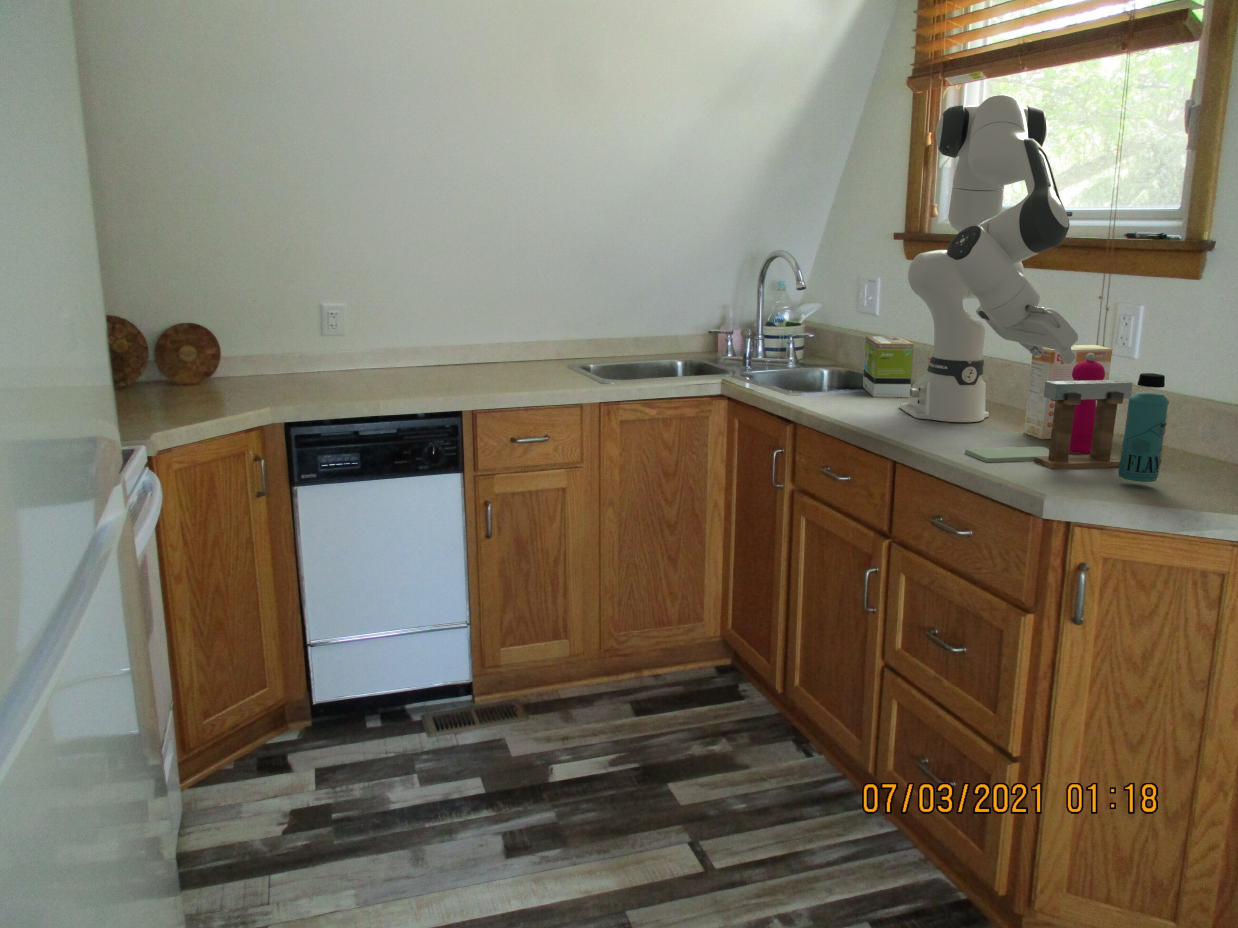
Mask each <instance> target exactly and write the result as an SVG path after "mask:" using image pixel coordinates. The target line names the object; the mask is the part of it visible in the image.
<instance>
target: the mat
mask: <svg viewBox="0 0 1238 928" xmlns="http://www.w3.org/2000/svg"><path fill="white" fill-rule="evenodd" d="M1049 449H1050V448H1046V447H1044V446H1022V447H1020V446H1019V447H1018V446H1015V447H991V448H990V447H987V448H965V449H964V454H966V455H969V456H971V457H972V458H976V459H978V460H981V461H983V462H985V463H1005V462H1006V463H1007V462H1008V463H1009V462H1030V461H1031V462H1034V458H1035V457H1047V456H1049Z"/></svg>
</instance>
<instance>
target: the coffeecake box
mask: <svg viewBox="0 0 1238 928" xmlns="http://www.w3.org/2000/svg"><path fill="white" fill-rule="evenodd" d="M1042 348H1043V349H1044V352H1043V353H1042V354H1041V355H1040V356H1033V355H1032V354H1031V364H1030V372H1029V373H1030V374H1029V382H1028V383H1029V385H1028V393H1027V398H1026V399H1027V401H1026V409H1025V410H1026V411H1025V418H1024V426H1023V427H1024V428H1023V434H1025V435H1027V434H1028V435H1027V436H1030V435H1031V437H1035V438H1037V439H1040V440H1051V432H1052V424H1053V416H1054V408H1055V401H1052V400H1051V399H1049V398H1045V397H1044V389H1045V381H1075V380H1074V379H1073V377H1072V371H1073V368H1074V366H1075V365H1076V364H1077V363H1079V362H1081V361H1087V360H1086V355H1087V354H1088V353H1093V354H1094V355H1095V360H1094V361H1096V362H1098V363H1100V364H1101V365H1102V366H1103V367H1104V370H1105V377H1104V379H1103V380H1110V378H1109V377H1110V370H1111V363H1112V356H1113V355H1112V354H1113V348H1111V347H1105V346H1102V345H1098V344H1081V345H1079V344H1078V345H1077V344H1074V345H1073V346H1072V347H1071V351H1072V352H1073V354H1074V355H1075V359H1074V360H1073V361H1072V362H1071V363H1065V362H1063V361H1062V359H1061V358H1060V357H1059V356H1060V352H1058V351H1056V350H1054V349H1049V348H1044V347H1042ZM1096 406H1097V400H1096Z"/></svg>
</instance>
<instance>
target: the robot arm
mask: <svg viewBox="0 0 1238 928" xmlns="http://www.w3.org/2000/svg"><path fill="white" fill-rule="evenodd" d="M1048 133H1049V123H1048V118H1047V114H1046V112H1045V110H1044V109H1042V108H1040V107H1037V106H1033V105H1027V106H1024V105H1023V106H1022V104H1021V102H1020V101H1019V100H1018V99H1017V98H1015V97H1014V96H1012V95H1009V94H994V95H992V96H989V97H987V98H985V99H984V100H983V101H982V102H981V103H980V104H977V105H976V104H975V105H967V106H964V105H963V104H961V105H954V106H951V107H949V108H947V109H946V110H945V111H942V115H941V116H940V118H939V120H938V122H937V125H936V129H935V141H936V145H937V149H938V151H939V152H940V153H941V155H943V156H945V157H948V158H954V159H955V158H957V157H958V159H957V163H956V167H955V171H954V176H953V180H952V187H951V195H950V203H949V207H948V208H949V210H948V215H947V216H948V217H947V218H948V221H949V224H950V226H951V227H952V228H953V229H954V230H955V231H956V232H958V233H957V234H956V235H954V236H953V238H952V240H951V241H950V242H949V244H948V245H947V249H937V250H936V249H935V250H929V251H924V252H920V253H918V254H917V255H915V257H914V258H913V260H912V261H911V263H910V265H909V267H908V272H907V279H908V284H909V286H910V288H911V290H912V291H913V292H914V294H915V295H917V296H918V297H920V299H921V300H922V301H923V302H924V303H925V304H926V306H927V308H928V309H929V311H930V314H931V317H932V320H933V321H932V322H933V330H934V331H933V336H934V337H933V349H932V350H933V353H932V356H931V357H928V358H927V360H929V361H927V364H928V367H927V368H926V369H927V370H926V371H927V372H926V373H924V375H923V376H922V377H920V378H919V379H918V380H917V381H915V383H913V384H912V385H911V389H910V392H909V394H910V397H909V401H908V402H902V403H899V406H898V408H899V409H901V410H902V411H904V412H905V413H907V414H909V416H910V415H911V416H912V417H913V418H915V419H923V420H931V421H932V420H933V421H938V422H939V421H940V422H948V423H949V422H950V423H951V422H952V423H973V422H974V423H975V422H981V421H983V420H984V419H985V418H988V417H989V414H990V413H989V411H986V383H985V381H984V380H983V378H982V375H983V374H984V369H985V364H984V363H985V360H984V359H983V355H984V345H985V339H986V338H985V335H986V329H985V325H984V323H983V322H982V320H980V319H979V318H981V319H983V320H984V321H985V322H986V323H987V324H988V325H989V326H990V327H991V328H992V330H993V331H994V332H995V333H996V335H998V336H999V337H1001V338H1002V339H1003V340H1005V341H1010V342H1016V343H1018V344H1019V345H1021V346H1022V347H1023V348H1024V349H1026V350H1028V352H1029V353H1030V354H1031V356H1032V355H1033V356H1040V355H1041V354H1042V353H1043V352H1044V349H1043V348H1042V347H1044V348H1049V349H1054V350H1056V351H1058V352H1060V356H1059V357H1060V358H1061V359H1062V361H1063V362H1065V363H1071V362H1072V361H1073V360H1074V359H1075V355H1074V354H1073V352H1072V351H1071V347H1072V346H1073V345H1076V343H1077V342H1078V341H1079V334H1078V333H1077V331H1076V330H1075V329H1074V327H1072V326H1071V324H1070V323H1069V322H1068V321H1067V320H1066V319H1065V318H1064V317H1063V316H1062V315H1061V313H1059V311H1057V310H1055V309H1053V308H1048V307H1043V306H1039V303H1040V301H1041V296H1040V293H1038V292H1037V290H1036V289H1035V288H1034V286H1033V285H1032V283H1030V281H1029V279H1027V277H1026V276H1025V268H1024V264H1023V263H1022V262H1023V261H1025V260H1028V259H1029V258H1032V257H1034V256H1036V255H1038V254H1041V253H1045V252H1047V251H1050V250H1053V249H1055V248H1058V247H1060V246H1061V245H1062V244H1063V242H1064V241H1065V239H1066V236H1067V235H1068V233H1069V229H1070V220H1069V219H1070V218H1069V216H1068V213H1067V211H1066V209H1065V206H1064V205H1063V203H1062V200H1061V197H1060V194H1059V192H1058V187H1057V184H1056V179H1055V177H1054V173H1053V169H1052V167H1051V163H1050V161H1049V158H1048V154H1046V151H1045V150H1044V148H1043V146H1044V145H1045V143H1046V140H1047V137H1048ZM1021 181H1024V182H1025V183H1024V184H1025V187H1026V191H1027V195H1026V196H1025V197H1024V198H1023V199H1022V200H1021V201H1020V202H1018V203H1016V204H1015V205H1014V206H1012V207H1009V208H1008V209H1005V210H1003V202H1004V197H1005V189H1006V186H1007V185H1011V184H1015V183H1018V182H1021ZM965 299H975V300H976V299H978V303H979V306H978V308H977V309H976V310H975V313H976V314H977V316H978V317H979V318H977V316H974V315H972V314H971V313H969V312H967V311H966V310H965V308H964V303H963V300H965Z"/></svg>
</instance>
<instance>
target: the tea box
mask: <svg viewBox="0 0 1238 928" xmlns="http://www.w3.org/2000/svg"><path fill="white" fill-rule="evenodd" d="M864 345H865V346H864V363H863V375H862V376H863V377H862V378H863V379H862V387H863V388H864V389H865V390H866V391H867V392H868V393H869V394H870V395H871V396H872V397H873V398H897V397H899V398H900V397H902V398H910V394H909V392H910V389H911V388H912V374H913V372H912V371H913V360H914V348H915V347H914V343H913V342H910V341H909V340H907V339H905V338H903V337H902V336H890V335H889V336H888V335H887V336H886V335H885V336H884V335H883V336H880V335H879V336H874V335H873V336H866V337H865V342H864Z"/></svg>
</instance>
